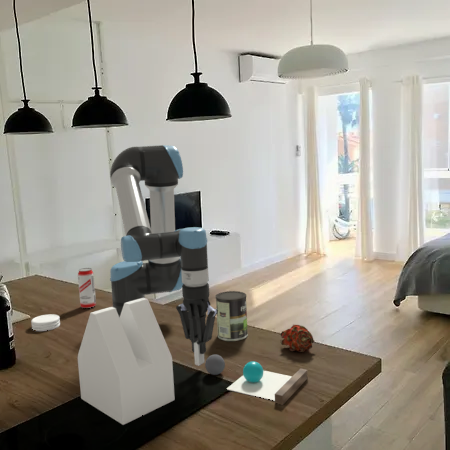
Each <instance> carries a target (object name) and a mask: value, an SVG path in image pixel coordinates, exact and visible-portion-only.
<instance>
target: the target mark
mask: <svg viewBox="0 0 450 450" xmlns="http://www.w3.org/2000/svg"><path fill="white" fill-rule="evenodd" d="M292 376H293V375H292ZM292 376H291V375H286V374H281V373H278V372H273V371H268V370H264V369H263V377H262V378H261V380H260V381H258V382H255V383H251V382H249V381H247V380H246V379H245V378H244V375H241V376H240V377H239V378H238V379H237V380H235V381H234V382H233V383H231V385H229V386H228V387H227V388H226V389H227V391H230V392H231V391H232V392H235V393H238V394H239V393H240V394H243V395H249V396H251V397H255V396H256V397H257V398H259V397H261V398H260V399H263V398H264V400H268V399H270V400H269V401H272V400H273V401H272V402H275V393H276V392H277V391H278V390H279V389H280V388H281V387H282V386H283V385H284V384H285V383H286V382H287V381H288V380H289V379H290V378H291V377H292Z"/></svg>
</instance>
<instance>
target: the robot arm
mask: <svg viewBox="0 0 450 450" xmlns="http://www.w3.org/2000/svg"><path fill="white" fill-rule="evenodd" d="M109 175H110V176H109V177H110V182H111V185H112V187H114V188H115V190H116V194H117V200H118V205H119V209H120V214H121V219H122V225H123V228H124V234H125V235H124V236H122V237H121V239H120V249H121V257H122V260H123V261H120V262H118V263H115V264H114V265H112V266H111V268H110V278H109V281H110V283H111V284H110V285H111V298H112V299H111V300H112V307H114V308H116V310H117V313H118V315H119V318H120V315H121V312H122V309H123V306H124V303H126V302H130V301H133V300H137V299H140V298H146V295H154V294H162V293H172V292H175V291H176V292H178V291H180V290H181V292H182V294H181V295H182V297H183V300H182V303H180V304H178V305H176V307H175V309H176V311H177V312H178V314H179V318H180V322H181V326H182V329H183V334H184V337H185V340H190V343H191V351H192V353H194V354H193V355H194V356H193V357H194V365H196V366H199V367H200V366H201V365H202V364H205V362H206V360H205V353H206V352H207V345H206V344H207V343H208V342H210V341H211V340H212V337H213V332H214V327H215V321H216V317H217V313H218V309H216V308H214V307H212V306H211V302H210V298H209V297H210V284H209V282H210V281H209V280H210V279H209V265H208V263H209V262H208V261H209V259H208V238H207V232H206V230H205V228H204V227H197V226H193V227H185V228H179V229H176V217H175V213H176V212H175V188H176V187H178V185H179V180H180V179H182V178H183V177H184V167H183V160H182V157H181V153H180V152H179V149H178V148H177V147H176V146H174V145H166V144H165V145H164V144H162V145H147V146H145V145H144V146H132V147H130V146H129V147H128V148H126V149H124V150H122V151H121V152H120V153H118V155H117V156H116V157H115V159H114V161H113V162H112V164H111V167H110V172H109ZM141 181H142V182H143V181H144V186H145V187H146V188H147V189H148V190H149V206H150V207H149V209H150V210H149V211H150V219H149V217H148V213H147V210H146V209H147V208H146V205H145V201H144V198H143V193H142V191H141V185H140V182H141ZM145 261H147V262H145Z"/></svg>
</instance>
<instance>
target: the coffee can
mask: <svg viewBox="0 0 450 450" xmlns="http://www.w3.org/2000/svg"><path fill="white" fill-rule="evenodd" d="M214 299H215V301H216V303H215V307H216V308H215V309H218V313H217V314H216V324H217V325H216V326H217V338H218V339H219V340H222V341H225V342H236V341H237V342H238V341H242V340H244V339H246V338H247V337H248V336H249V334H248V317H247V316H248V313H247V312H248V311H247V294H246V293H245V292H243V291H237V290H229V291H222V292H220V293H219V292H218V293H217V294H216V295H215V297H214Z"/></svg>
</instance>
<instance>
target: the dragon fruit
mask: <svg viewBox="0 0 450 450" xmlns="http://www.w3.org/2000/svg"><path fill="white" fill-rule="evenodd" d="M280 337H281V338H282V339H280V345H282V346H286V347H287V346H288V347H289V348H288V350H289V351H291V352H295V351H297V352H298V353H304V352H305V351H306V350H307V351H308V350H309V351H310V350H311V349H312V348H313V343H315V340H314V337H313V334H312V332H311V331H309V330H308V328H306V327H305V326H304V325H300V324H292V326H291V327H290V328H287V329H285V330H283V331H281V333H280Z"/></svg>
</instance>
